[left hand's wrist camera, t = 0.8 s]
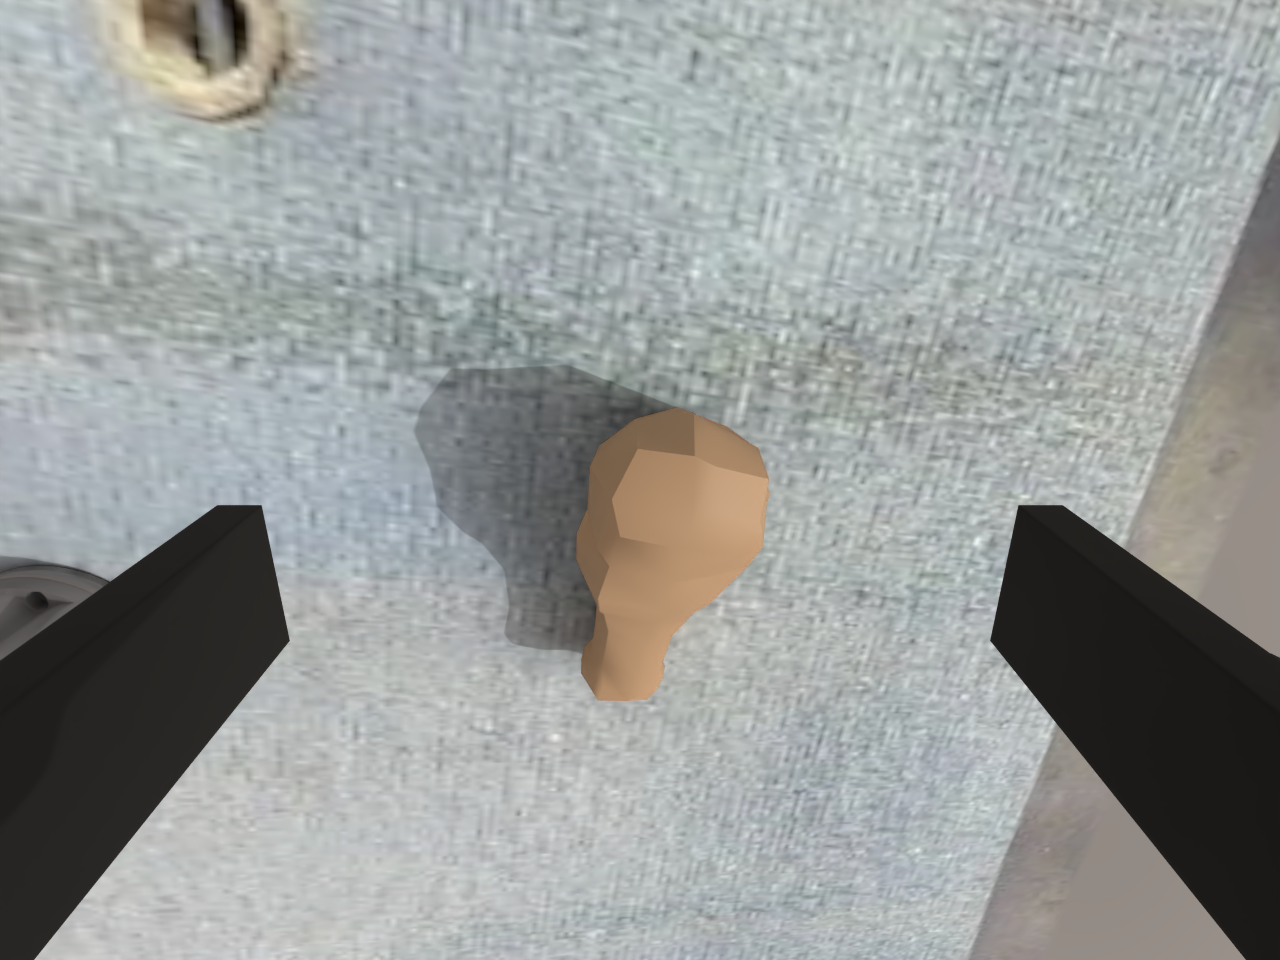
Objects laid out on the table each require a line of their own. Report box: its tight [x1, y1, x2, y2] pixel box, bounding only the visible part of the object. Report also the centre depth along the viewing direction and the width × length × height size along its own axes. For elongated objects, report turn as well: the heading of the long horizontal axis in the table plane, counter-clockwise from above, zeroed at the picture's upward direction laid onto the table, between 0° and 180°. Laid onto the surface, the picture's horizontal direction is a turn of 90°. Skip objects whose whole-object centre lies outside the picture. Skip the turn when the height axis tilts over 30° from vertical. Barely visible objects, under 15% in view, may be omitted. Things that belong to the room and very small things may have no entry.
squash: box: [576, 407, 770, 701], centre depth 42 cm, size 11×20×9 cm, turn 169°
